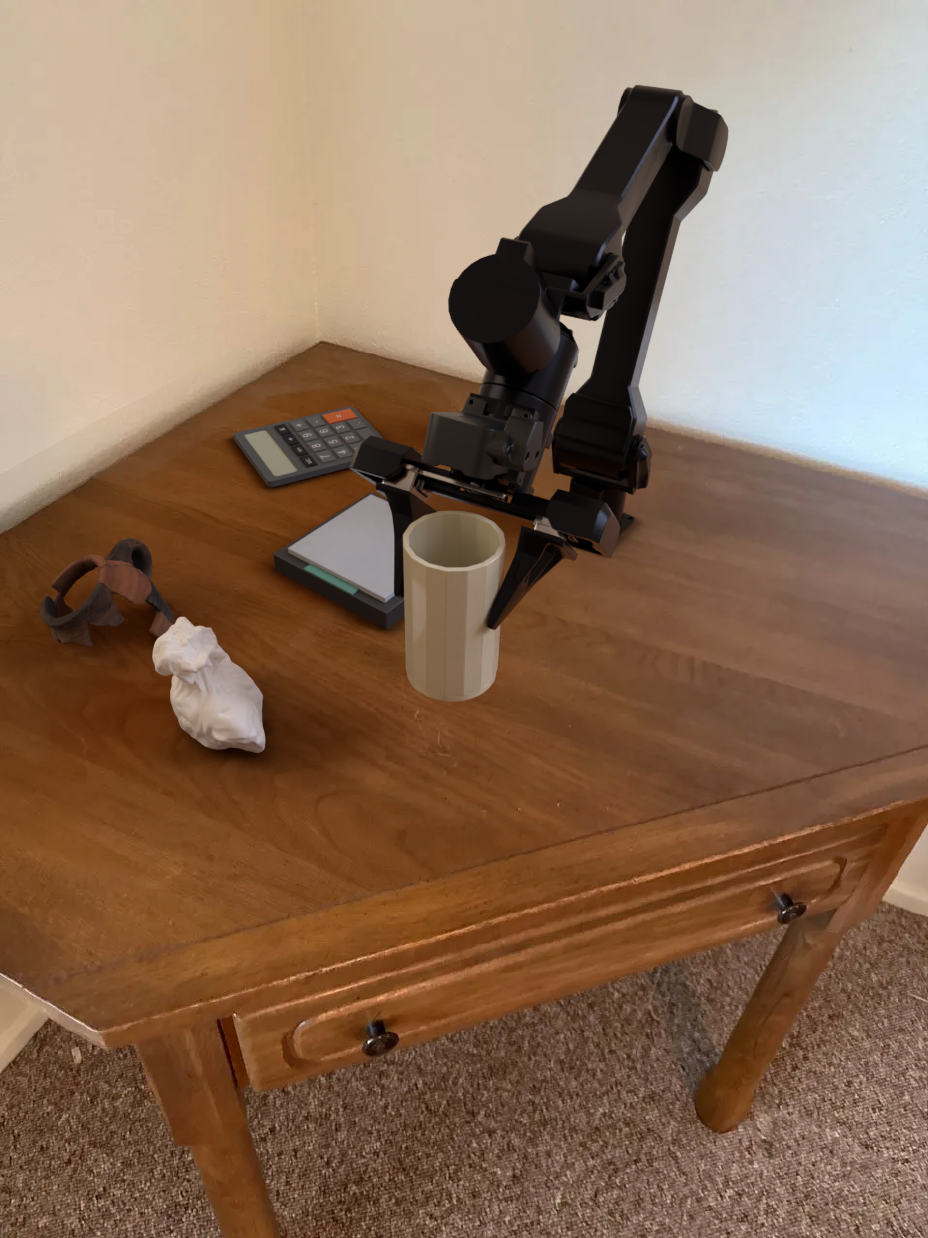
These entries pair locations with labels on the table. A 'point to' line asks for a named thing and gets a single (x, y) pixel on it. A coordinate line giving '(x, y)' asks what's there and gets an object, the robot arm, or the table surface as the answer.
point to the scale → (349, 560)
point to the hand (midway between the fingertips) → (443, 612)
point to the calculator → (305, 445)
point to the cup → (452, 603)
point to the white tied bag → (209, 689)
